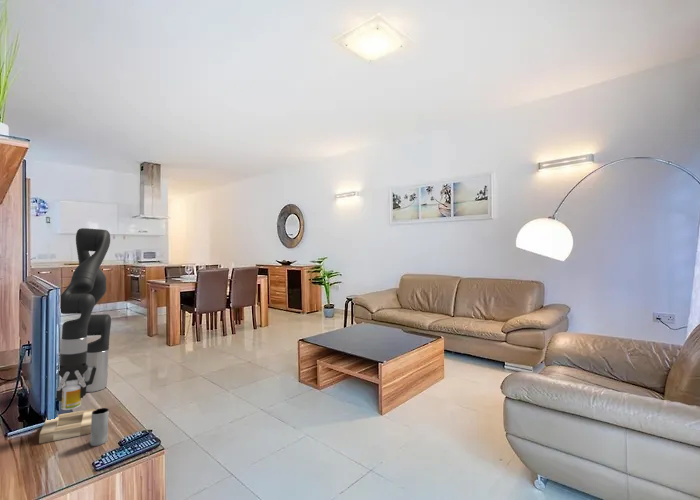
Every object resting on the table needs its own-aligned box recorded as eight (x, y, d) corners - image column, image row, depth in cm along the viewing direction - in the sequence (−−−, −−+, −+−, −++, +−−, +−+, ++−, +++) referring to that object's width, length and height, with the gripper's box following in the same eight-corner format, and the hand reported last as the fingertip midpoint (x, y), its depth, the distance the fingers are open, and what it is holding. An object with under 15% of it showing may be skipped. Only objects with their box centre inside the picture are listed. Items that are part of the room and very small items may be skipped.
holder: (46, 424, 124) (47, 416, 124) (95, 416, 131) (95, 408, 131) (39, 443, 112) (39, 434, 112) (92, 432, 120) (93, 424, 120)
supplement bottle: (84, 404, 124) (85, 377, 124) (71, 411, 119) (72, 382, 119) (70, 403, 125) (72, 376, 125) (56, 409, 119) (58, 381, 120)
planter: (108, 437, 117) (110, 407, 117) (104, 444, 113) (106, 413, 113) (92, 439, 115) (94, 408, 116) (88, 447, 111) (89, 414, 111)
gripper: (99, 345, 129) (97, 391, 129) (49, 350, 121) (46, 398, 121) (98, 350, 123) (95, 398, 123) (45, 355, 115) (42, 407, 115)
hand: (71, 398), depth 122 cm, fingers closed on supplement bottle, 5 cm apart
